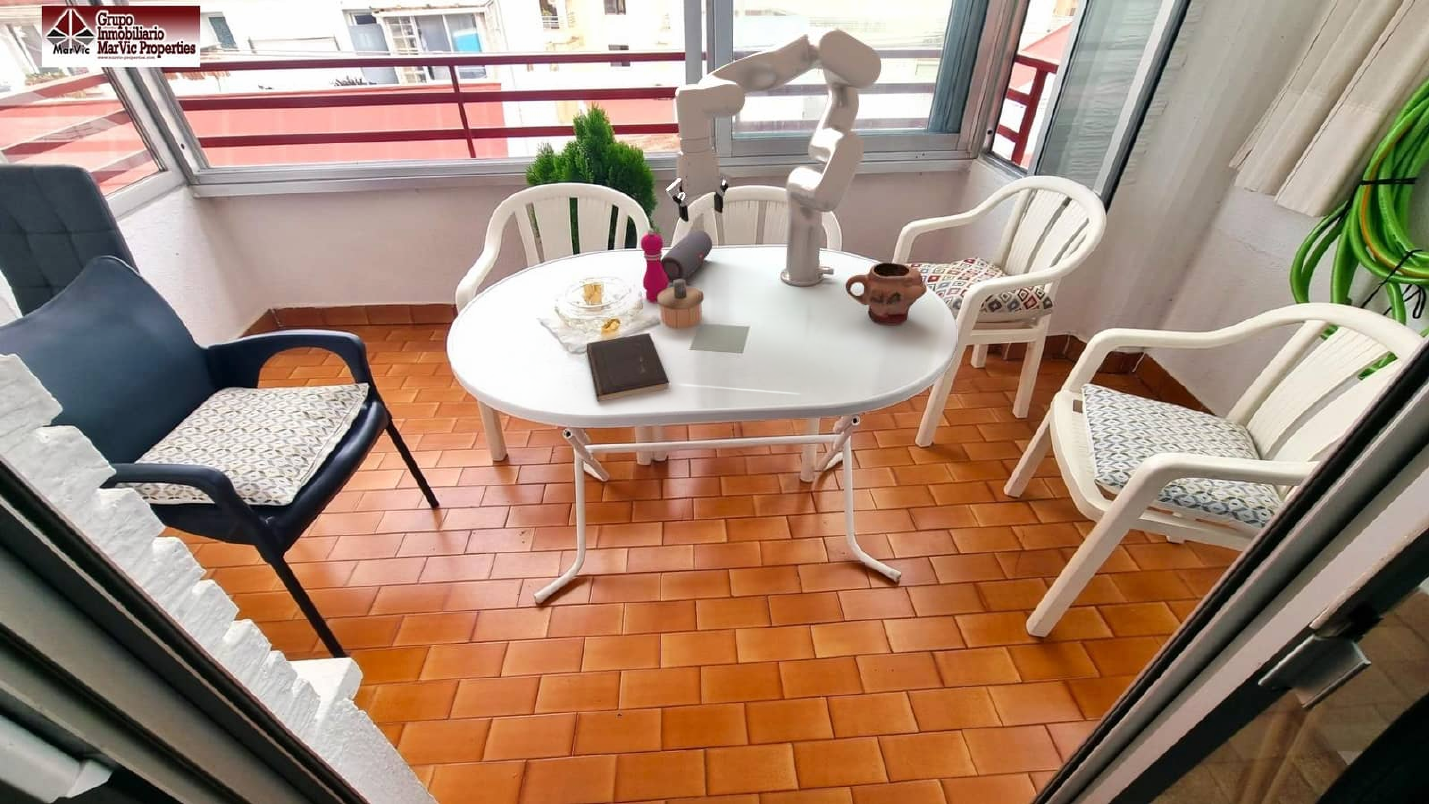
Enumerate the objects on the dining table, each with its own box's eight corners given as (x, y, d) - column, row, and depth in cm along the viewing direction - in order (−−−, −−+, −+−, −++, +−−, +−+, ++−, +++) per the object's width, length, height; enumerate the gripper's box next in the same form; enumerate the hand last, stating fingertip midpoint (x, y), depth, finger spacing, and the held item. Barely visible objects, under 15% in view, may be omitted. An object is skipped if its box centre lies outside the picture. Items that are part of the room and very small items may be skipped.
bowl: (704, 310, 157) (703, 290, 154) (696, 330, 149) (695, 309, 145) (667, 308, 159) (666, 288, 155) (657, 327, 150) (655, 307, 147)
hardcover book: (650, 340, 146) (649, 332, 145) (669, 390, 128) (669, 381, 127) (587, 351, 143) (585, 343, 142) (598, 403, 125) (596, 395, 124)
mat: (749, 327, 149) (749, 326, 149) (742, 354, 139) (742, 352, 138) (700, 324, 151) (700, 323, 151) (689, 350, 141) (689, 349, 141)
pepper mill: (671, 291, 167) (666, 224, 156) (667, 303, 162) (661, 233, 150) (647, 291, 168) (639, 223, 156) (642, 302, 162) (634, 233, 151)
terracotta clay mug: (846, 330, 146) (852, 279, 138) (838, 308, 156) (844, 259, 148) (925, 328, 146) (936, 277, 137) (913, 306, 156) (922, 257, 147)
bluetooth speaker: (687, 289, 168) (685, 257, 163) (658, 285, 171) (655, 253, 165) (714, 260, 185) (713, 229, 179) (688, 256, 188) (686, 226, 182)
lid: (707, 289, 154) (706, 273, 151) (698, 310, 145) (697, 293, 142) (663, 287, 156) (662, 271, 153) (652, 308, 147) (650, 290, 144)
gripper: (720, 134, 141) (724, 204, 152) (656, 148, 136) (665, 219, 146) (735, 140, 136) (738, 212, 146) (669, 154, 130) (677, 228, 141)
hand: (702, 215), depth 146 cm, fingers open, 9 cm apart
